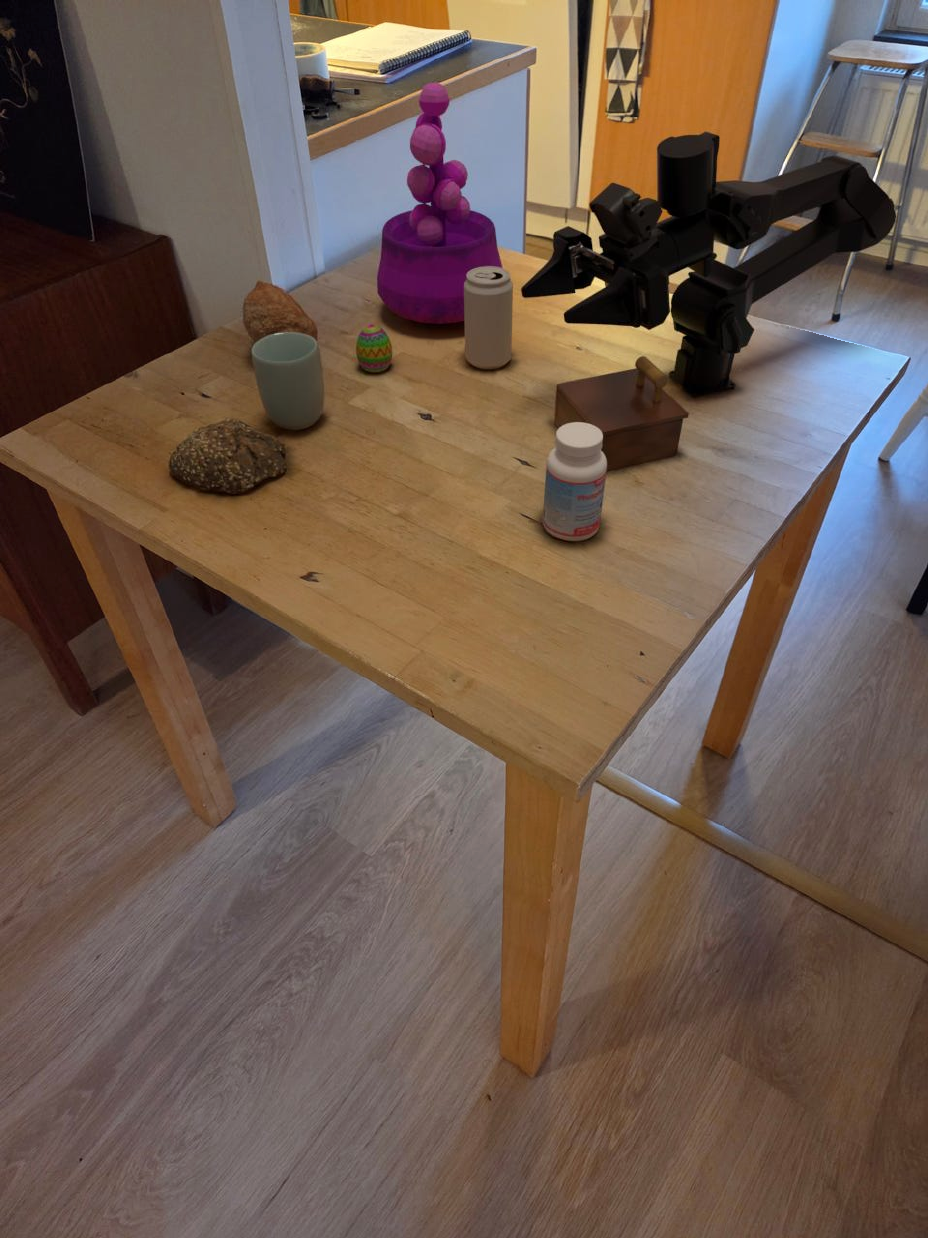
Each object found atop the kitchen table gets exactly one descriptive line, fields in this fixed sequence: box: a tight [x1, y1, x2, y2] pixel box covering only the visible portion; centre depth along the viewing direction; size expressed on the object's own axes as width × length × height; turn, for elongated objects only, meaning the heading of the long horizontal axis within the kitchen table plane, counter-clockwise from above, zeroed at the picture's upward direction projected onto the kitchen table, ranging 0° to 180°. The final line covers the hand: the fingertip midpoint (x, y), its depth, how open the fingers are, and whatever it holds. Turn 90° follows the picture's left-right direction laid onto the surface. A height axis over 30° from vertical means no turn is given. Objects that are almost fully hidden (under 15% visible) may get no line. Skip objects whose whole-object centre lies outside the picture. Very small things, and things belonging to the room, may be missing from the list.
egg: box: [355, 323, 393, 374], centre depth 114 cm, size 5×5×6 cm
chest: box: [553, 388, 684, 472], centre depth 101 cm, size 11×12×5 cm
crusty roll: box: [242, 279, 318, 344], centre depth 115 cm, size 10×13×10 cm
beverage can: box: [463, 266, 514, 370], centre depth 113 cm, size 6×6×12 cm
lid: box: [555, 355, 690, 436], centre depth 98 cm, size 11×12×4 cm
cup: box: [250, 332, 326, 431], centre depth 103 cm, size 8×8×10 cm
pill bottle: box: [542, 422, 608, 542], centre depth 86 cm, size 6×6×11 cm
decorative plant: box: [376, 82, 503, 325], centre depth 118 cm, size 19×18×30 cm
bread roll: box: [168, 417, 287, 495], centre depth 98 cm, size 13×12×5 cm
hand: (542, 305), depth 92 cm, fingers open, 9 cm apart
